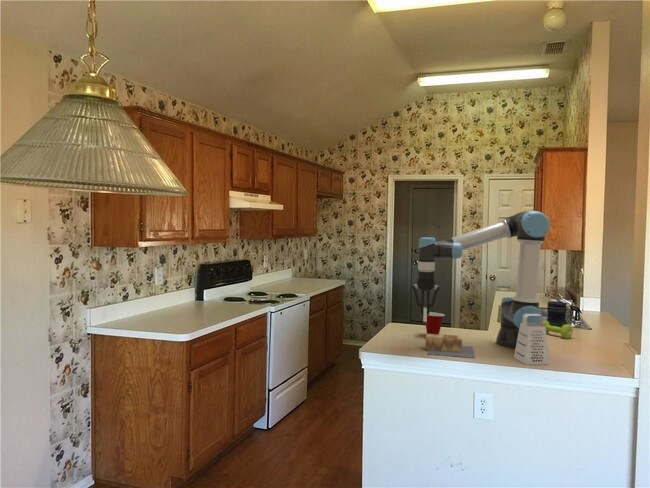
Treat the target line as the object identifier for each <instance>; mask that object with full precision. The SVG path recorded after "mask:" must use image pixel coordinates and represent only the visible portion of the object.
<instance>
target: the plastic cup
mask: <svg viewBox="0 0 650 488" xmlns="http://www.w3.org/2000/svg"><path fill="white" fill-rule="evenodd" d="M444 317H445V314H444V313H439V312H432V311H429V315H427V322H424V323H425V330H426V334H437V335H440V331H441V327H442V324H443V320H444Z"/></svg>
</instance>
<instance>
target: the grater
mask: <svg viewBox="0 0 650 488" xmlns="http://www.w3.org/2000/svg"><path fill="white" fill-rule="evenodd" d="M541 315H542V314H541ZM541 315H539V314H524V315H523V323H520V328H519V333H518V338H517V344H516V348H514V349H515V350H514V355H513V358H514V357H515V358H514V359H517V360H518V361H519V360H520V362H521V363H523V364H524V363H525V364H524V365H550V359H549V358H550V357H549V356H550V355H549V348H548V347H549V346H548V337H547V334H546V326H543V320H545V319H544V317H543V315H542V316H541ZM528 316H539V324H538V323H527V317H528Z"/></svg>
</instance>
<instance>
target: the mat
mask: <svg viewBox="0 0 650 488" xmlns="http://www.w3.org/2000/svg"><path fill="white" fill-rule="evenodd" d="M474 352H475V351H474V348H473V346H472V345H470V346H469V345H462V351H461V352H450V351H437V350H428V352H427V353H428V356H429V355H431V356H432V355H433V356H441V355H443V357H454V358H455V357H457V358H466V359H468V358H469V359H476V356H475V353H474Z"/></svg>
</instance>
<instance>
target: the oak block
mask: <svg viewBox="0 0 650 488" xmlns="http://www.w3.org/2000/svg"><path fill="white" fill-rule="evenodd" d="M462 343H463V338H462V336H461V335H455V334H453V335H452V334H439V335H437V334H427V333H425V345H424V346H425V350H428V351H429V350H437V351H450V352H461V351H462V346H463V345H462Z"/></svg>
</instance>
